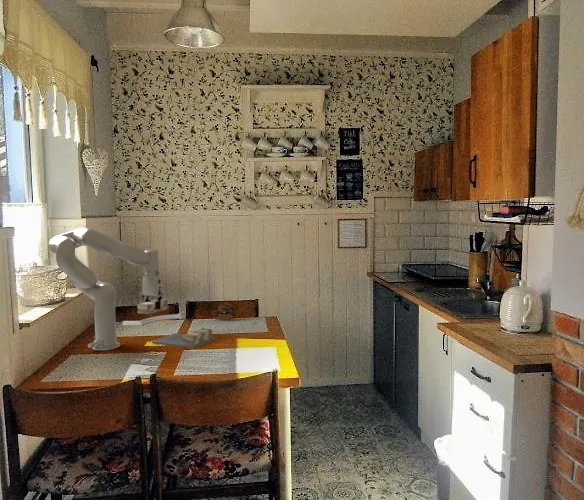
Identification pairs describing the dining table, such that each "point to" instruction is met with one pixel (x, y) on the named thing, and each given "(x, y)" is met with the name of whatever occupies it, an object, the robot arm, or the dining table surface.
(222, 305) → the wooden carving
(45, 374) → the dining table surface
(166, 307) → the ash plank
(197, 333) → the fixed plank
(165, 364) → the dining table surface
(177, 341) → the floor panel
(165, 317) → the molding
